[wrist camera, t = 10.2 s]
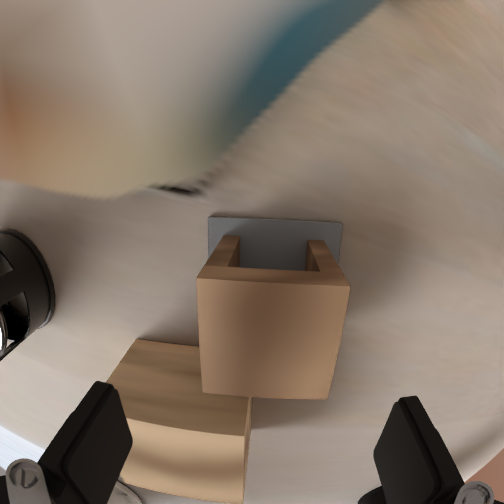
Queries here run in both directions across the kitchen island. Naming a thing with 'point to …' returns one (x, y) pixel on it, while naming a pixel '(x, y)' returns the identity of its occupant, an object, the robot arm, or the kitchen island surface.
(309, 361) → the u-shaped wooden block
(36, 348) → the kitchen island surface
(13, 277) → the french press
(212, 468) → the plinth
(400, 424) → the robot arm
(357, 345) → the kitchen island surface
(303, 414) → the kitchen island surface
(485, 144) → the kitchen island surface
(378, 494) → the aerosol can
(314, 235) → the coaster
